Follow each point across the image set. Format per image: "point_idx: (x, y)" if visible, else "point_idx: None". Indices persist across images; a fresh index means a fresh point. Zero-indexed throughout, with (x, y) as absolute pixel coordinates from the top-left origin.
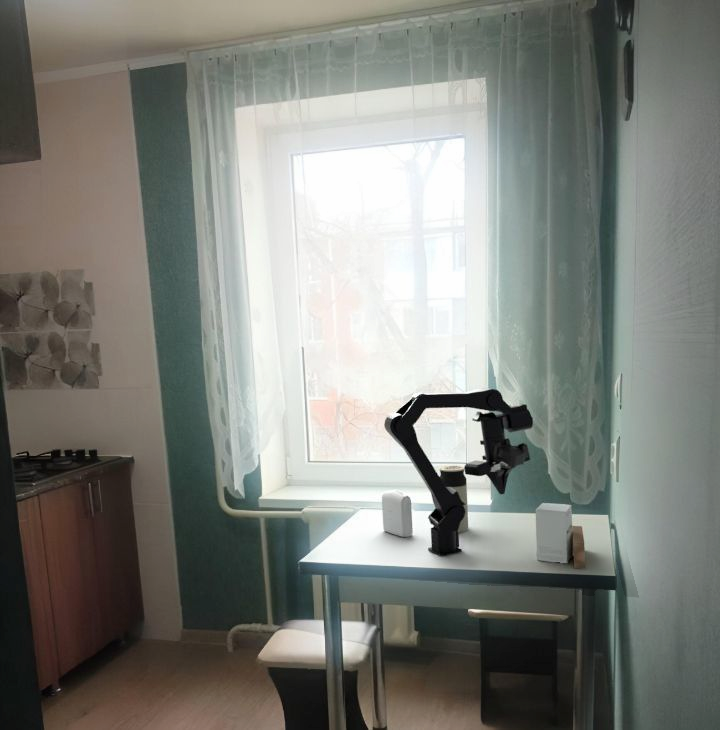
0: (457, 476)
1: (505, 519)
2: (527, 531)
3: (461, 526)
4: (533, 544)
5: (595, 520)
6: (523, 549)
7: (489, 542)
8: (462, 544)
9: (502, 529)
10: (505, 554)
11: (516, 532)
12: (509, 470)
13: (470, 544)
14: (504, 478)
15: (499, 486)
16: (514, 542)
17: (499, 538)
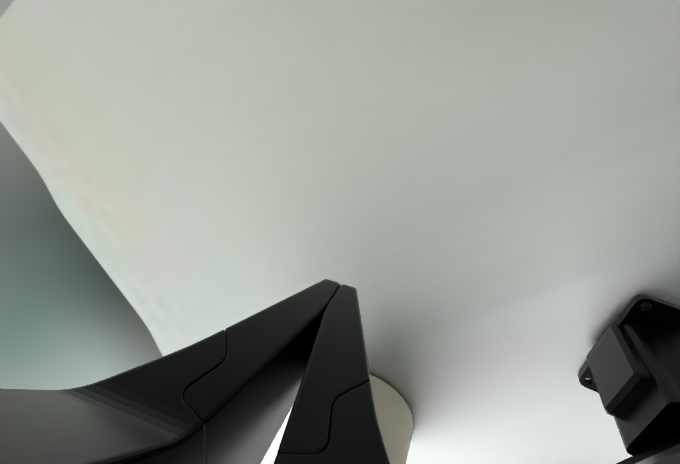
0: None
1: (183, 305)
2: (228, 187)
3: (378, 395)
4: (344, 77)
5: (5, 54)
6: (435, 71)
7: (428, 248)
8: (518, 330)
9: (265, 272)
10: (562, 100)
11: (261, 216)
12: (23, 425)
13: (499, 303)
14: (244, 381)
15: (361, 359)
16: (368, 161)
17: (359, 237)
